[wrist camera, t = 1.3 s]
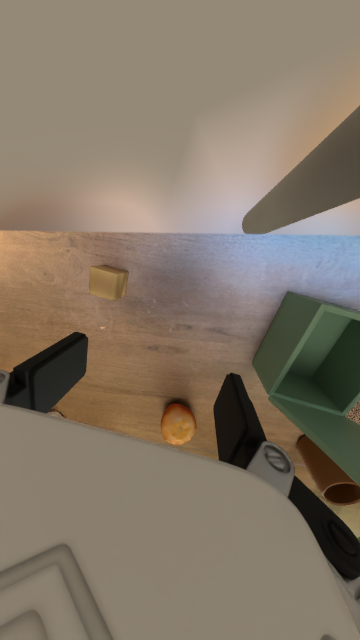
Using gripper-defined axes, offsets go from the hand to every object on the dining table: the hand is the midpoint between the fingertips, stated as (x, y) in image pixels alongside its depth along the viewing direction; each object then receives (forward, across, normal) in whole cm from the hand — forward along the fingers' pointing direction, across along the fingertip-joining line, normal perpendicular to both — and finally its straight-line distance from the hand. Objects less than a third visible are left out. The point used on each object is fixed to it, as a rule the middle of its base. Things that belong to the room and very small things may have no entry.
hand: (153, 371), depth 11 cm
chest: (+22, -24, +2) cm, 33 cm away
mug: (+22, -41, +26) cm, 54 cm away
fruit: (+23, -6, +27) cm, 36 cm away
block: (+23, +13, 0) cm, 26 cm away
